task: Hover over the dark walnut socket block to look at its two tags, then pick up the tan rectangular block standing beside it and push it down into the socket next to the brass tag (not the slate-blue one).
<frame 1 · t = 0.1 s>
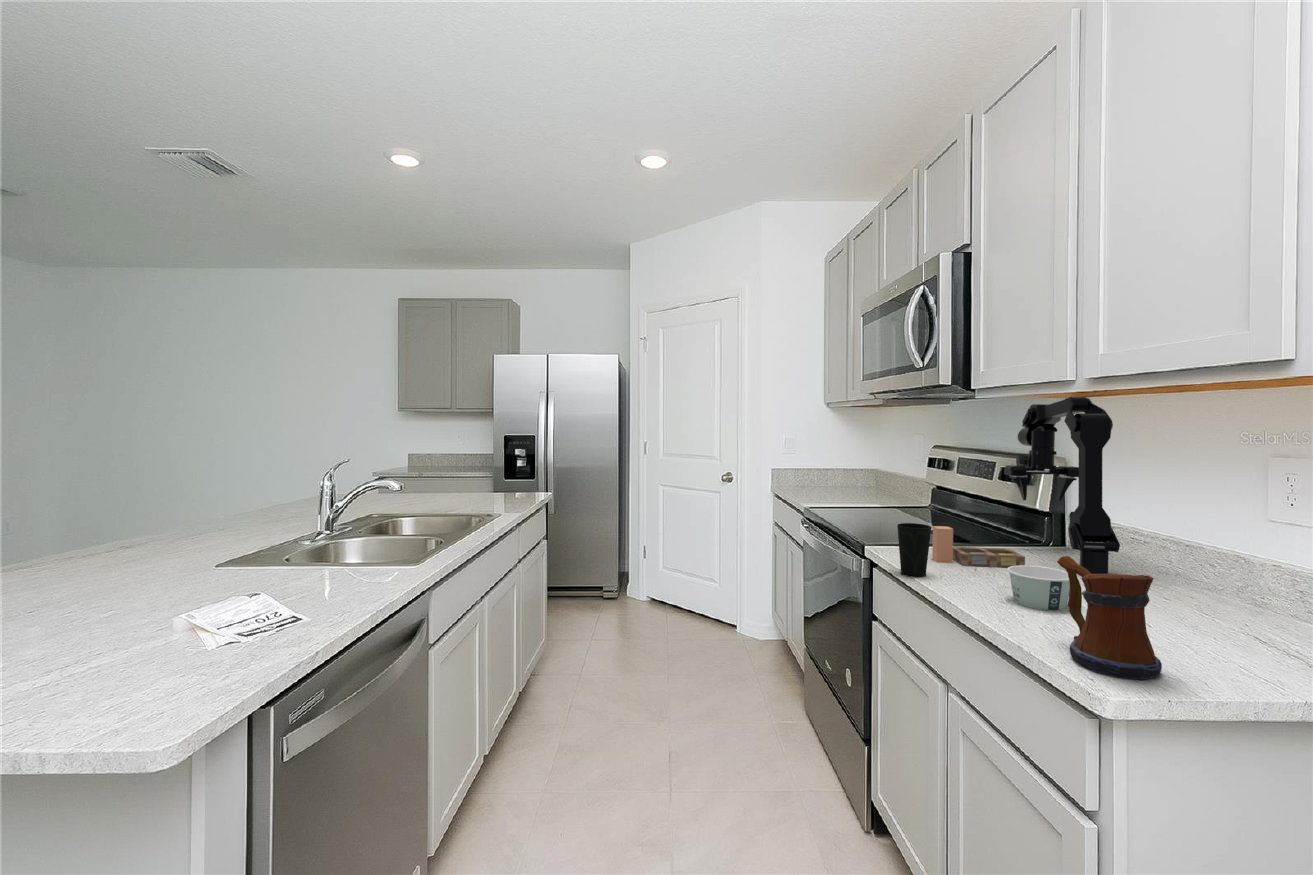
hand: (1041, 500, 177), 15 cm above the worktop, fingers open, 9 cm apart
socket block: (986, 562, 162), on the worktop
food container: (1039, 604, 126), on the worktop
tan rectangular block: (942, 560, 164), on the worktop
cup: (913, 575, 149), on the worktop
mug: (1098, 658, 97), on the worktop
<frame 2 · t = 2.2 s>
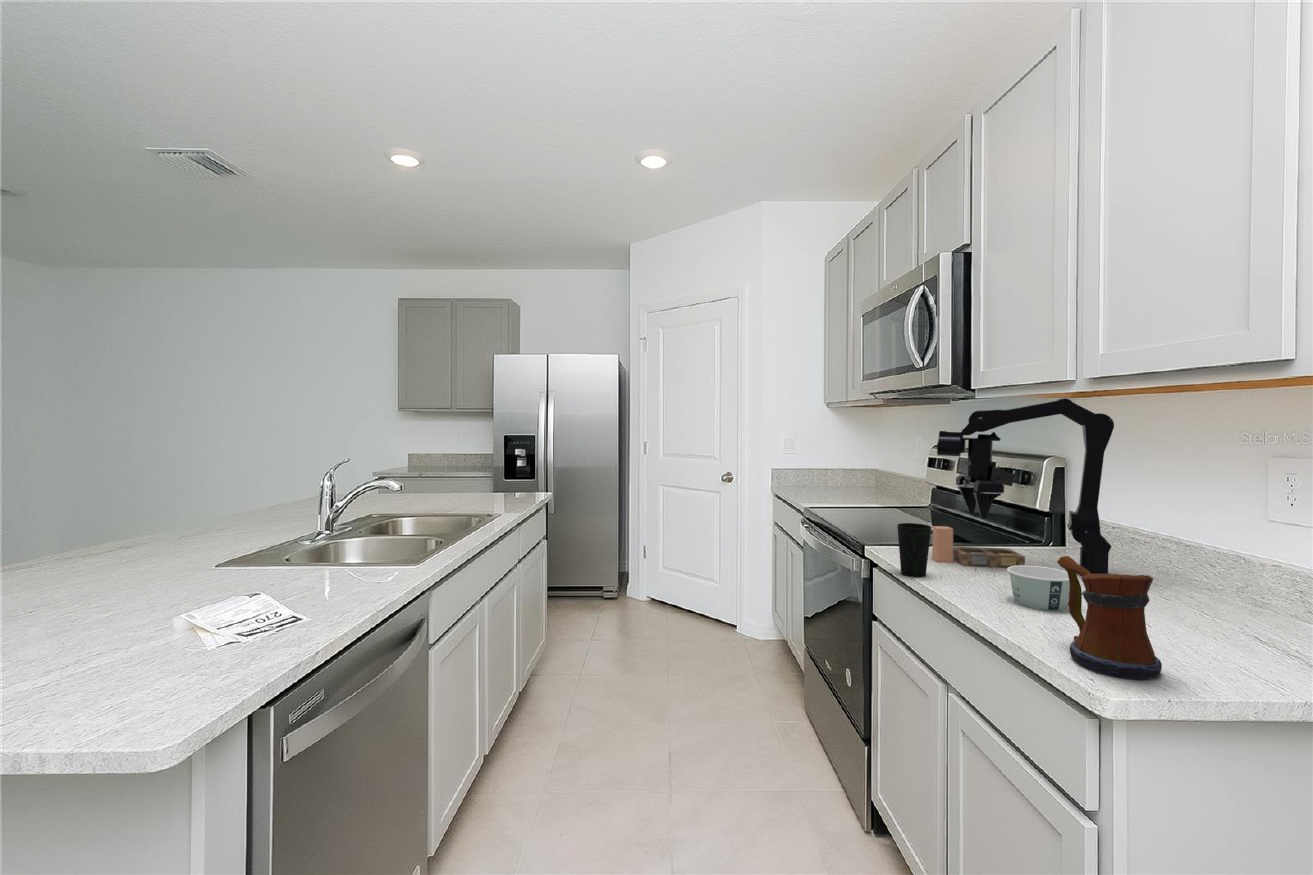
hand: (977, 515, 162), 12 cm above the worktop, fingers open, 9 cm apart
nothing on the worktop moved.
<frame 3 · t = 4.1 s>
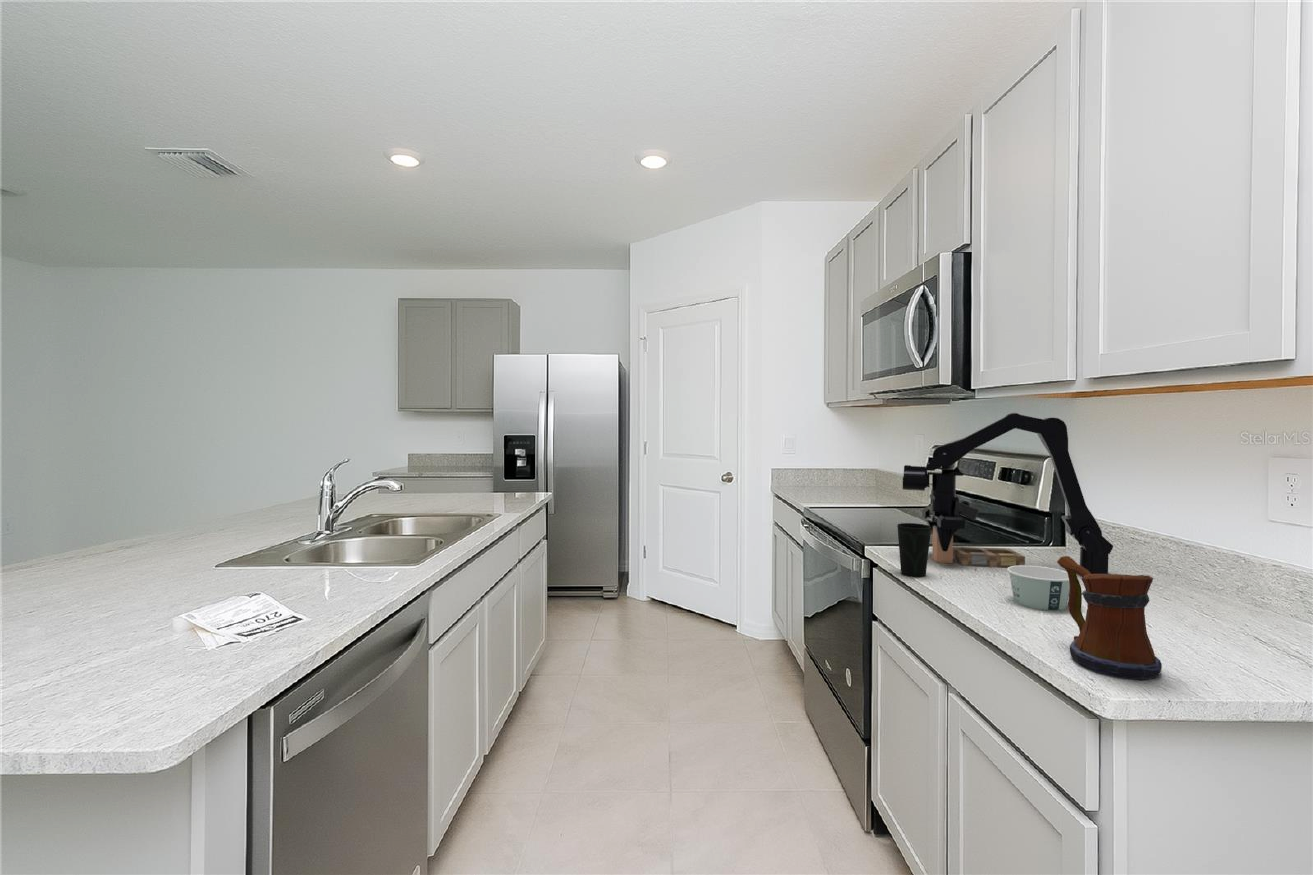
hand: (942, 549, 164), 3 cm above the worktop, fingers closed on tan rectangular block, 4 cm apart
tan rectangular block: (942, 560, 164), on the worktop, touching gripper
everything else where it was.
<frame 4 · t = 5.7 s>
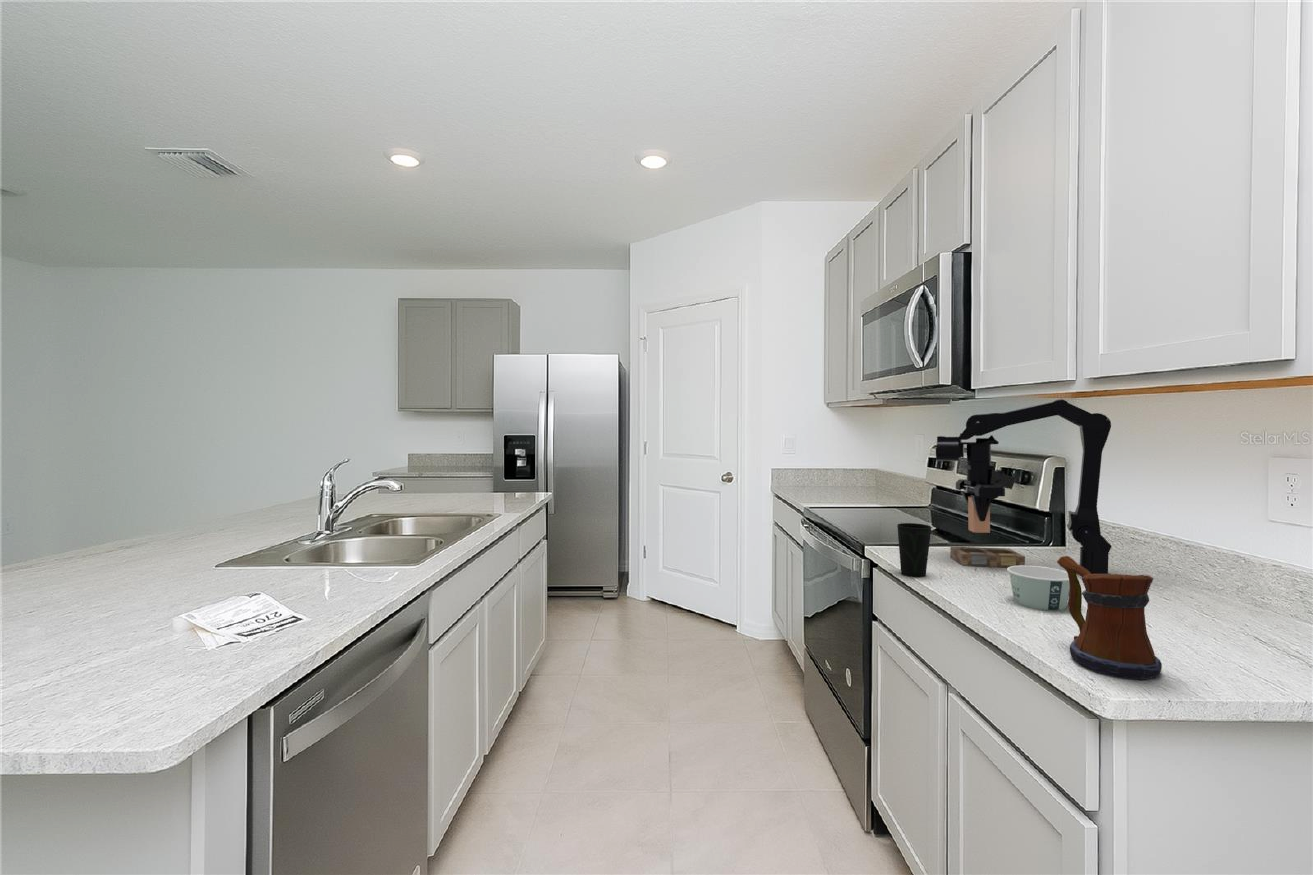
hand: (979, 519, 162), 11 cm above the worktop, fingers closed on tan rectangular block, 4 cm apart
tan rectangular block: (979, 531, 162), point 8 cm above the worktop, touching gripper
everything else where it was.
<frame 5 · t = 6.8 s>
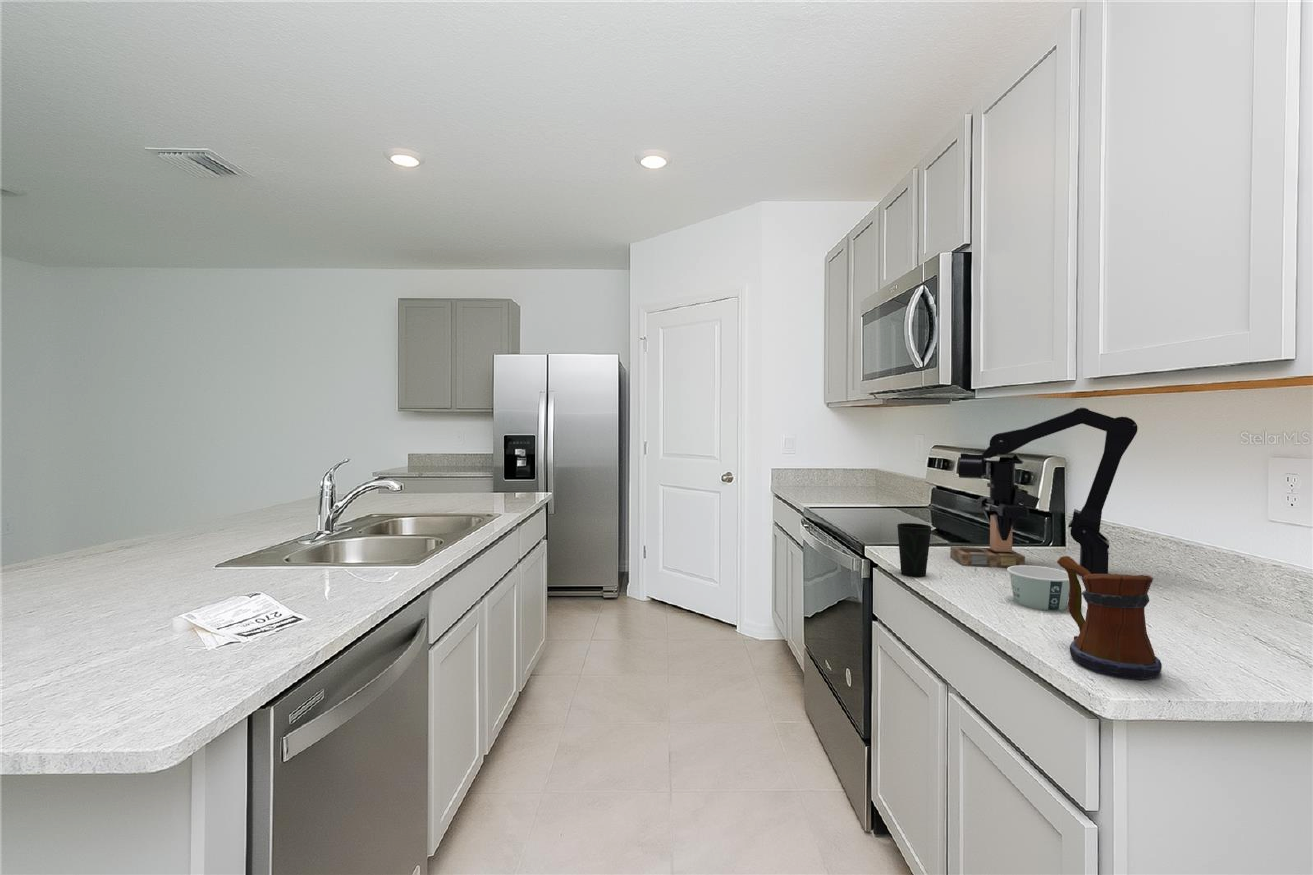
hand: (1001, 538, 161), 6 cm above the worktop, fingers closed on tan rectangular block, 4 cm apart
tan rectangular block: (1000, 550, 161), point 3 cm above the worktop, touching gripper
everything else where it was.
when the fingers open (4 cm above the worktop, at t = 7.6 s): tan rectangular block drops 1 cm, resting in socket block.
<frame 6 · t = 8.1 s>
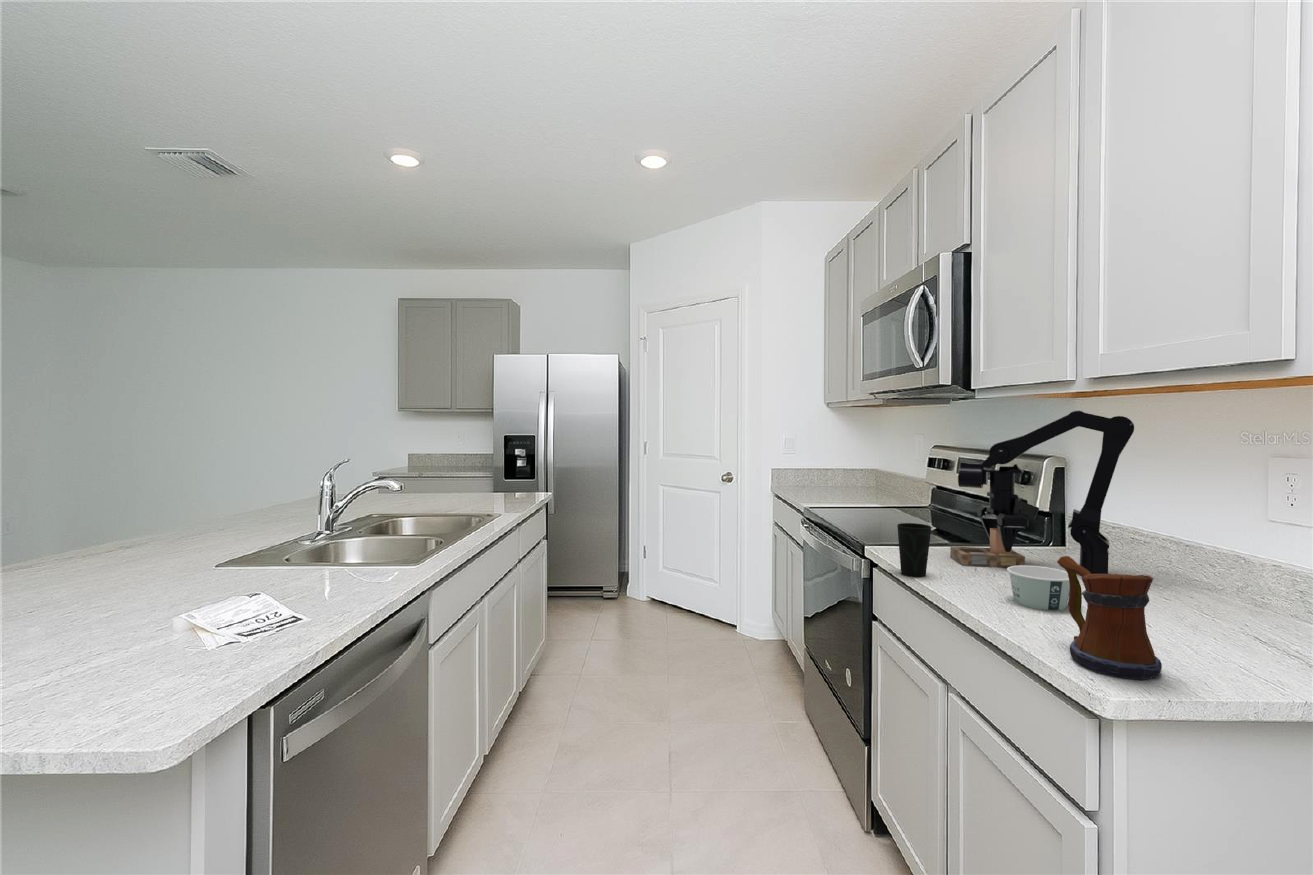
hand: (1000, 548, 161), 4 cm above the worktop, fingers open, 9 cm apart
tan rectangular block: (1000, 563, 161), resting in socket block
everything else where it was.
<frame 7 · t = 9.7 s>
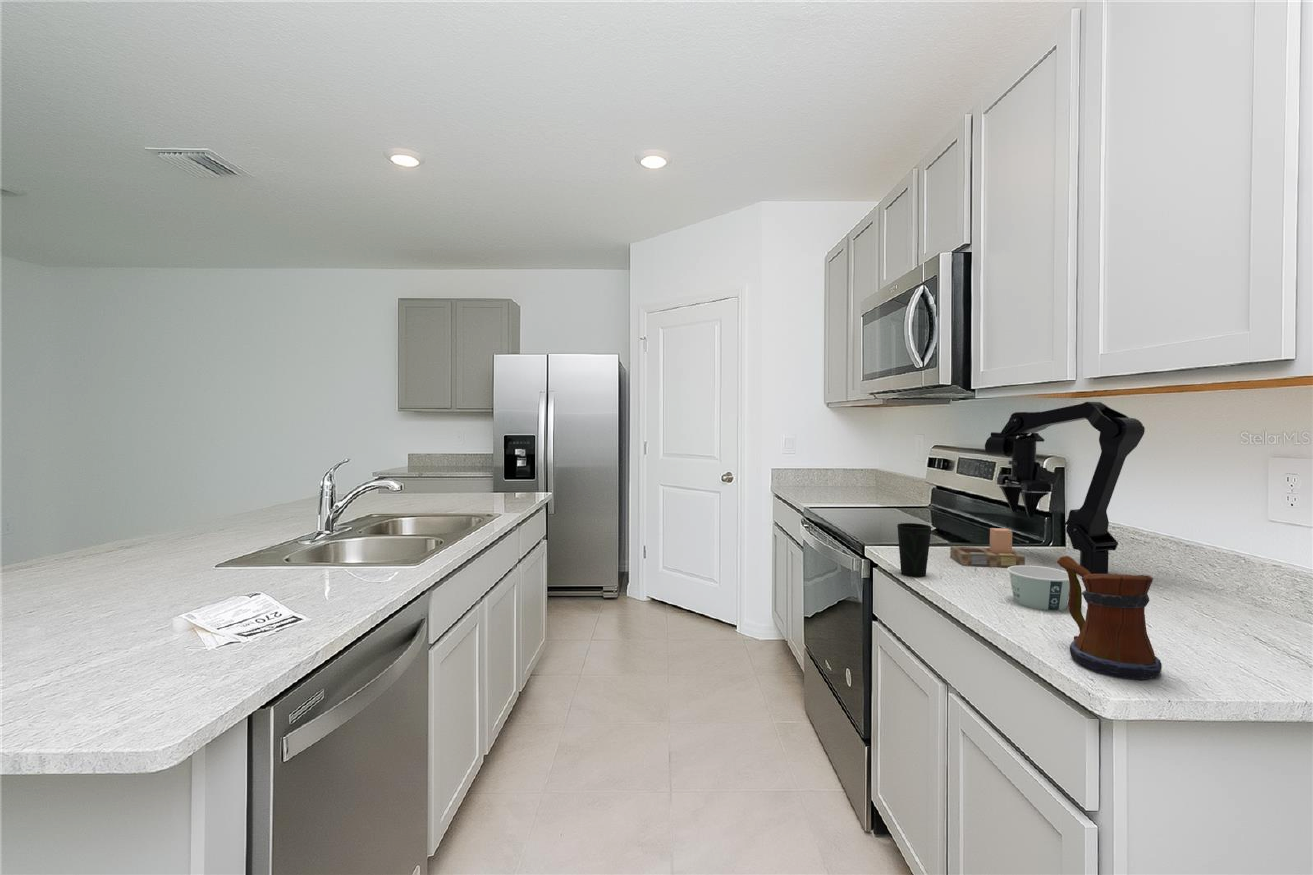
hand: (1022, 514, 167), 12 cm above the worktop, fingers open, 9 cm apart
nothing on the worktop moved.
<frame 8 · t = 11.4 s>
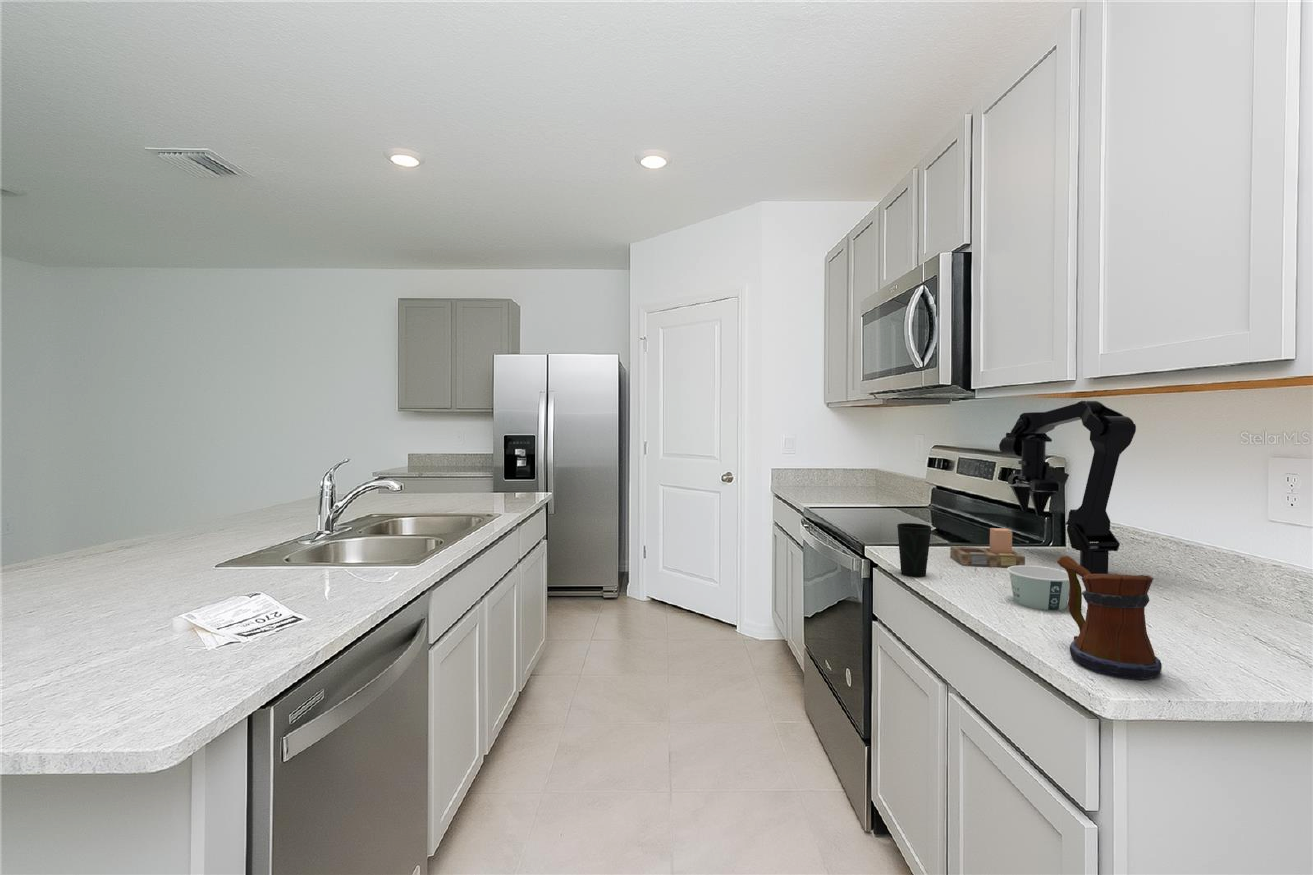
hand: (1031, 513, 170), 12 cm above the worktop, fingers open, 9 cm apart
nothing on the worktop moved.
at the end: tan rectangular block 0.0 cm from the target spot on the socket block, point 0.0 cm above the socket block's base; tan rectangular block tilted 0°; the gripper is holding nothing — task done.
